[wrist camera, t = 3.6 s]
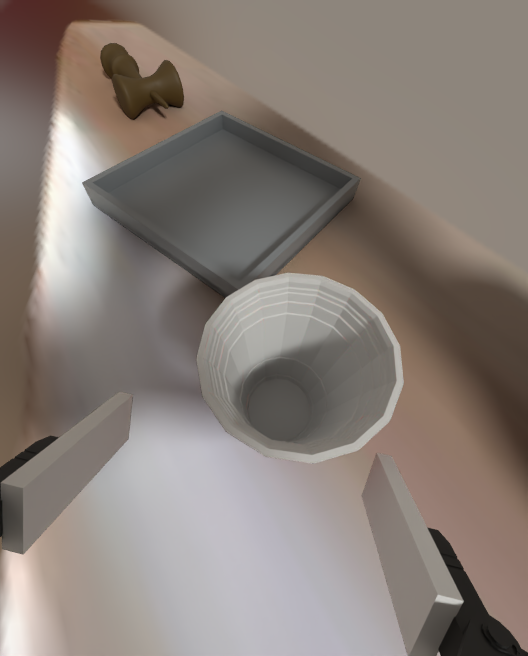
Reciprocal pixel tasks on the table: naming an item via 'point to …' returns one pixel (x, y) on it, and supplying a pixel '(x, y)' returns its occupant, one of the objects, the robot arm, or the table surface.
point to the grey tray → (224, 200)
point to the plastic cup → (300, 367)
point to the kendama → (140, 82)
